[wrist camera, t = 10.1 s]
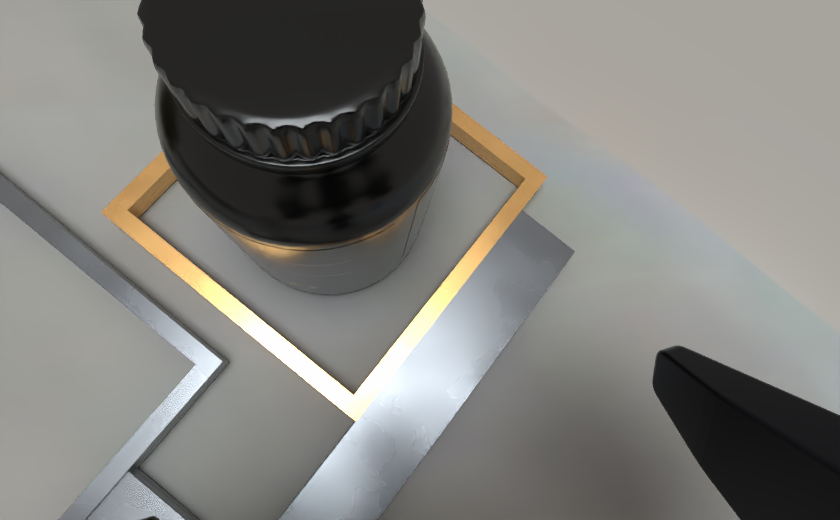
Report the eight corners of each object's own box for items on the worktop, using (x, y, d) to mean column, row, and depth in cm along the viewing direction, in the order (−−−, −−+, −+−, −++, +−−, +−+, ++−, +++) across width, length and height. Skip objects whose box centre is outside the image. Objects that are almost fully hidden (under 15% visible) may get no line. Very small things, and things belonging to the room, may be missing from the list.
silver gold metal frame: (589, 225, 22) (600, 218, 21) (152, 817, 17) (138, 845, 16) (230, -54, 23) (224, -73, 22) (-293, 421, 17) (-332, 424, 16)
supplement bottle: (271, 102, 22) (164, -226, 10) (440, 153, 22) (530, -109, 10) (208, 269, 20) (-6, 112, 8) (392, 322, 20) (433, 242, 9)
